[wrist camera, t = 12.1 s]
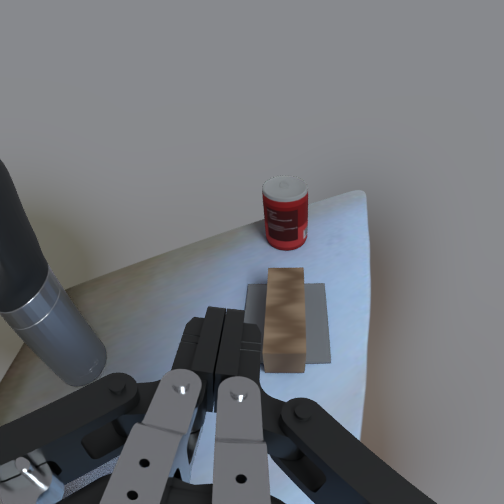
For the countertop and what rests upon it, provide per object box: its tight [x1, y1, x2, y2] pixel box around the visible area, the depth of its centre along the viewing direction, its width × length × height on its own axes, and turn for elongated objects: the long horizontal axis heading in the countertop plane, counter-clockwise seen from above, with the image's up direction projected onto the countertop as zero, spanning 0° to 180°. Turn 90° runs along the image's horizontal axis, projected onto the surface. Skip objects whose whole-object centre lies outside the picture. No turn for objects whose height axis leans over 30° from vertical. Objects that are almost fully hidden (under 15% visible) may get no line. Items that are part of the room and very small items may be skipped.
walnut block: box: [262, 268, 306, 373], centre depth 41 cm, size 5×5×14 cm
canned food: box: [262, 176, 308, 250], centre depth 55 cm, size 8×8×11 cm
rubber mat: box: [244, 283, 331, 364], centre depth 44 cm, size 14×12×1 cm
